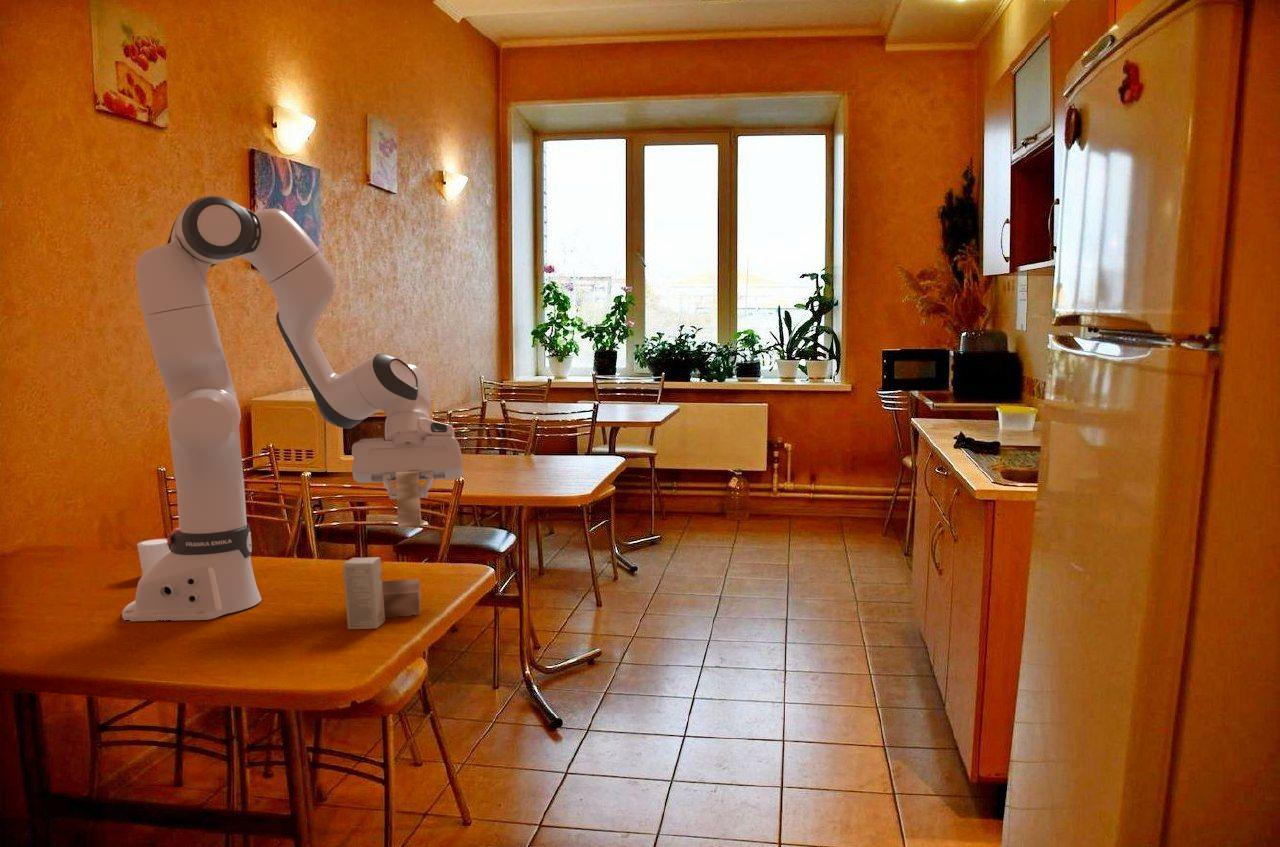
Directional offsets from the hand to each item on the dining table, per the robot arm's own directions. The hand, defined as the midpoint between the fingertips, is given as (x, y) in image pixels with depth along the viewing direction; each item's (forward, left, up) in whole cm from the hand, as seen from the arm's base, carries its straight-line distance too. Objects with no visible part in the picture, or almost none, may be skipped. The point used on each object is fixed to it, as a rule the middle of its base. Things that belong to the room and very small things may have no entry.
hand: (408, 496), depth 184 cm
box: (-7, -19, -18) cm, 27 cm away
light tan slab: (-3, -11, -18) cm, 21 cm away
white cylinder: (-51, +26, -18) cm, 60 cm away
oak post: (0, +1, -5) cm, 5 cm away
